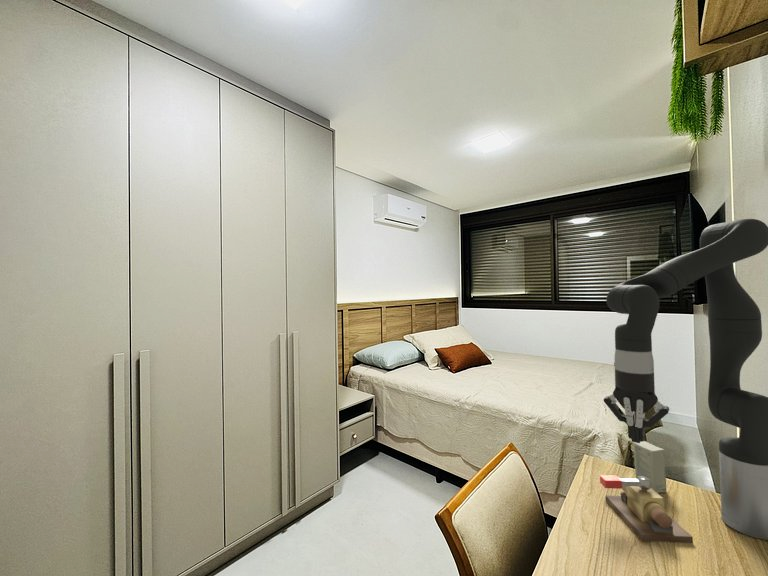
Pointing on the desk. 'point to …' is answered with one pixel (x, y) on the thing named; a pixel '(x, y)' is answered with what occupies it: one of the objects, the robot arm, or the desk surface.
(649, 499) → the valve rig
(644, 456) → the skincare box
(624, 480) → the valve lever
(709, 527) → the desk surface
